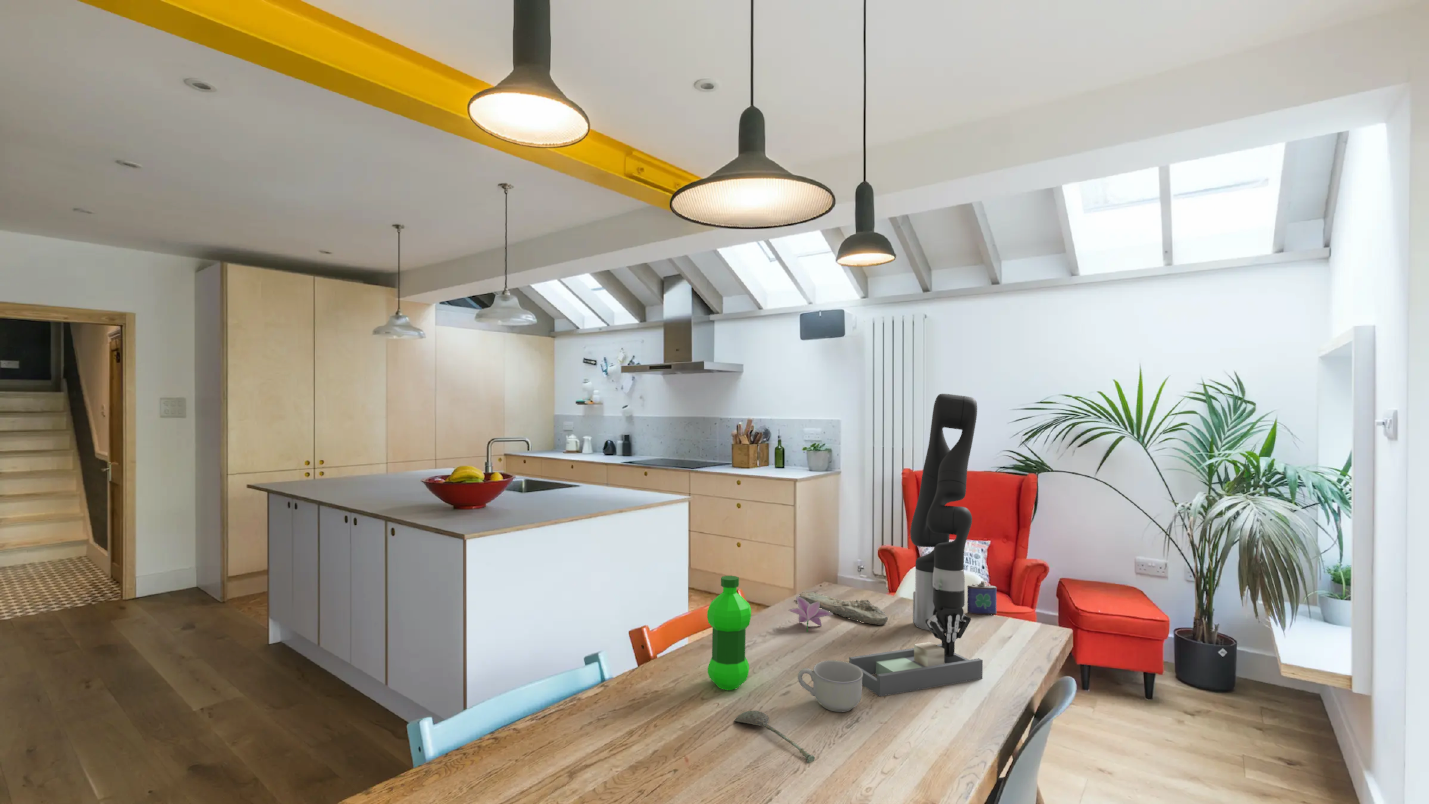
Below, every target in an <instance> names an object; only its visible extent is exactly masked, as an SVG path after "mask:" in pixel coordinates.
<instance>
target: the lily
mask: <svg viewBox="0 0 1429 804" xmlns="http://www.w3.org/2000/svg"><path fill="white" fill-rule="evenodd" d="M795 599H796V602H797V606H798V607H795V608H791V609H788V611H789V612H791V613H793V614H796V615H798V623H799V622H804V623H805V622H807V623H806V633H807V632H808V631H809V621H811V622H812V623H814V624H815V625H817V626H819V625H820V626H819V627H822V621H821V618H824V617H830V616H834V614H833V613H831V612H829V611H827V610H824V609H819V607H820V602H815V603H812V604H809V603H808V602H807V601H806V600H804V599H803V598H801V597H799V595H798V596H797V595H796V596H795ZM808 633H809V632H808Z"/></svg>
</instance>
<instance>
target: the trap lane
mask: <svg viewBox="0 0 1429 804" xmlns="http://www.w3.org/2000/svg"><path fill="white" fill-rule="evenodd" d="M937 645H938V646H940V647H942V643H938V644H937ZM848 663H851V664H853V665H855V666H857V667H859V668H860V669H861V670H862V672H863V677H862V687H865V688H866V689H868V690H870V691H871V692H872V693H874V694H875V695H877V696H879V697H884V696H886V697H887V696H890V695H898V694H903V693H907V692H914V691H920V690H926V689H930V688H937V687H942V686H947V685H954V684H961V683H964V682H970V681H976V680H982V679H983V666H984V665H983V659H981V658H978V657H977V658H972V659H969V658H966V657H964V656H962V655H961V654H958V653H955V652H954V654H953V657H946V656H944V664H940V665H934V666H927V667H925V666H923V665H921V664H920V663H918V662H916V661H914V647H911V648H905V649H898V650H891V651H890V650H889V651H883V652H875V653H870V654H863V655H858V656H856V655H855V656H849V657H848ZM874 675H876V677H875V676H874Z"/></svg>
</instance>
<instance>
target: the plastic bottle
mask: <svg viewBox="0 0 1429 804" xmlns="http://www.w3.org/2000/svg"><path fill="white" fill-rule="evenodd" d="M720 586H721V587H722V592H721V593H720V594H718V595H717V596H716V597H715V598H714V599H713V600H712V601H711V602H710V603H709V606H708V608H707V611H706V613H707V616H706V617H707V622H708V624H709V625H710V626H711V627H712V634H711V635H712V641H711V642H712V643H711V645H712V646H711V658H710V659H709V660H710V661H709V662H708V666H707V675H708V677H709V679H710V681H711V682H713V683H714V684H715V685H716V686H717V688H719V689H720V690H724V689H725V691H734V690H736V689H738V688H739V687H740V686H742V685H743V684H744V683H745V682H746V681H747V678H748V676H749V674H750V673H749V671H750V664H749V661H748V659H747V656H746V641H747V640H746V637H747V636H746V635H747V633H746V630H747V627H749V626H750V623H751V618H752V607H751V605H750V603H749V602H748V601H747V600H746V599H745V598H744V597H743V596H742V595H741V594H739V593H738V592H737V588H738V587H739V586H740V578H739V576H736V575H724V576H721V577H720ZM733 689H734V690H733Z"/></svg>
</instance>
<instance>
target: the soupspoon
mask: <svg viewBox="0 0 1429 804" xmlns="http://www.w3.org/2000/svg"><path fill="white" fill-rule="evenodd" d="M733 721H734V722H738V723H744V724H750V725H755V726H760V727H764V728H765V729H767V730H769V731H771V732H773V734H774V733H775V734H776V735H777V736H779V737H780V738H782V739H783V740H785V741H786V742H787V743H789V744H790V745H791V746H793V747H794V748H796V749H797V750H798V751H799V753H800V754H802V756H803V757H804V758H805V760H806V764H807V763H808V764H809V763H812V762H814V761H815V760H816V759H815V758H816V757H815V755H813V754H812V755H811V754H809V752H807V751H805V749H804V748H802V747H801V746H799V745H798V744H797V743H796V742H794V741H793V739H790V738H789V737H787V736H786V735H785V734H783V733H781V732H780V731H779V730H777V729H776V728H774V727H772V726H771V725H769V721H770V719H769V715H768V714H766V713H764V712H763V711H761V710H748V711H747V710H746V711H744V712H741V713H740V714H739V715H737V716H736V717H735V719H734V720H733Z"/></svg>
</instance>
